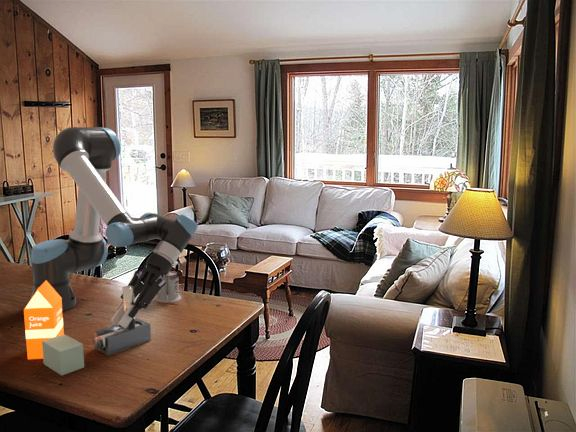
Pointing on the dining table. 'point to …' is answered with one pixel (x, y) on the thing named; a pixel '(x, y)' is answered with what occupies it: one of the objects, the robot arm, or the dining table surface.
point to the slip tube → (127, 302)
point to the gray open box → (124, 337)
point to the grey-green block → (63, 354)
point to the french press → (169, 288)
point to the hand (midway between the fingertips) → (118, 324)
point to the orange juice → (42, 319)
